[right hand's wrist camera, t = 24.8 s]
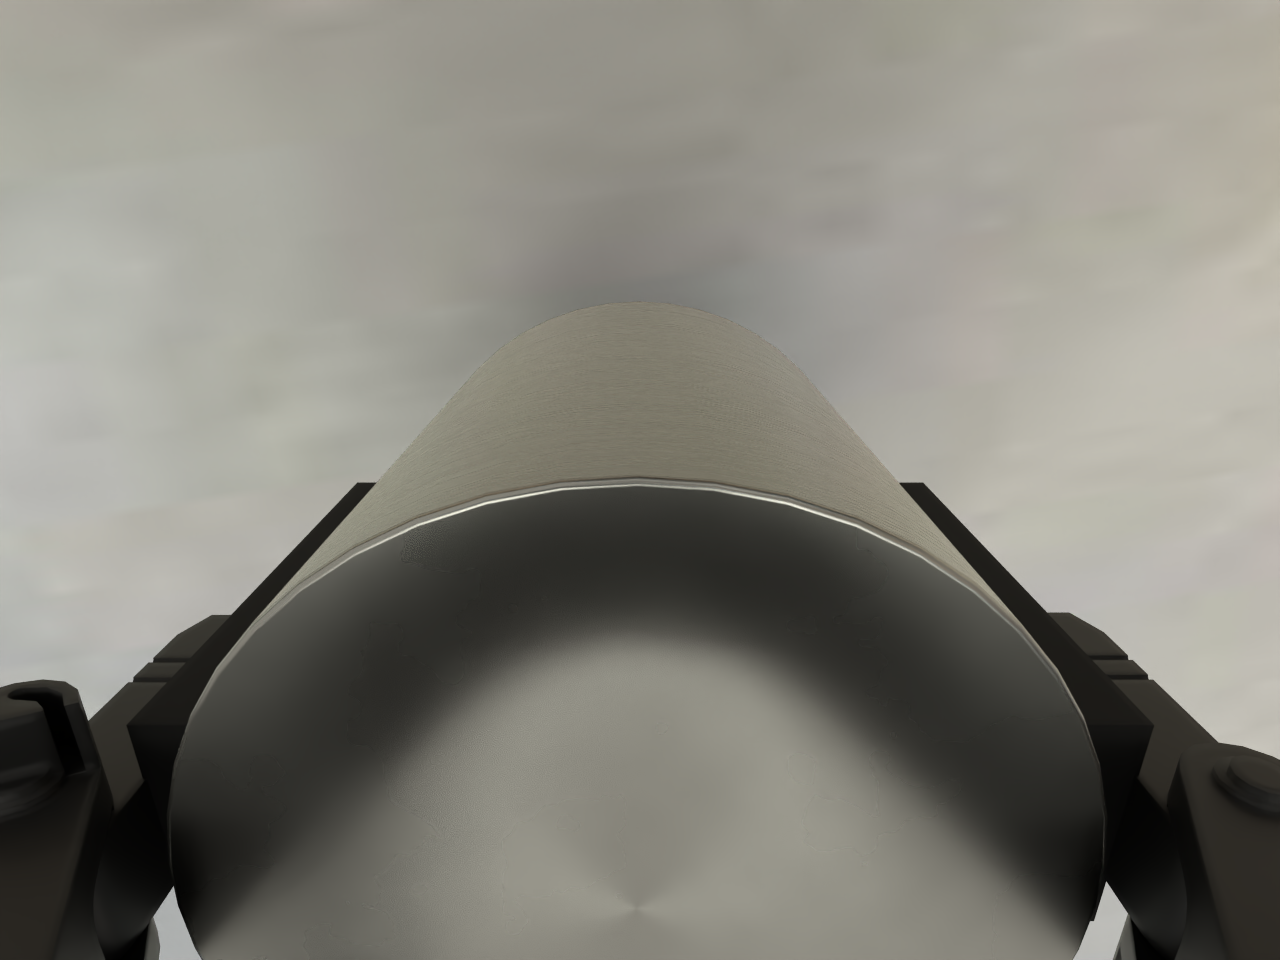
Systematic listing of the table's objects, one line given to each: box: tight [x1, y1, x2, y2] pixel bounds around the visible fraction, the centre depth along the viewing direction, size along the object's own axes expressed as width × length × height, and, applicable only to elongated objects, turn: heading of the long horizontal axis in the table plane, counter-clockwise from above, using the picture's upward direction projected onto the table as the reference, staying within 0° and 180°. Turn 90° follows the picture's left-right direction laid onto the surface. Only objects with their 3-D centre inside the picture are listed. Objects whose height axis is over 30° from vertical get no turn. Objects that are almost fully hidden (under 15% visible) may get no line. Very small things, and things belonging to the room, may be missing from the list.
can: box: [167, 301, 1107, 960], centre depth 11 cm, size 9×9×9 cm
